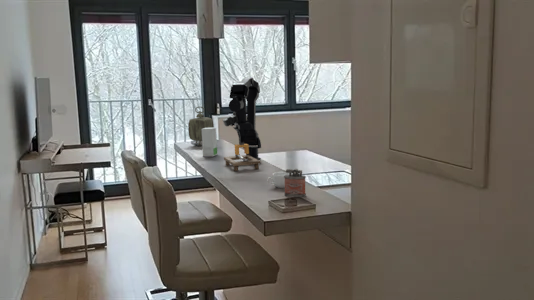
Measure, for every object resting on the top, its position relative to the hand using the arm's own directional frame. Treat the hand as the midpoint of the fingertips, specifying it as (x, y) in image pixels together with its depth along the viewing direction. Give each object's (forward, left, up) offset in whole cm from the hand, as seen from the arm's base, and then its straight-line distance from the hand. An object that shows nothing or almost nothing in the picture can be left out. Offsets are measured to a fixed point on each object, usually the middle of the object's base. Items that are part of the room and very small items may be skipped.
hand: (241, 142), depth 244 cm
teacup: (+26, +40, -13) cm, 50 cm away
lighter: (+35, +53, -13) cm, 65 cm away
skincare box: (-20, -39, -13) cm, 45 cm away
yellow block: (0, 0, -6) cm, 6 cm away
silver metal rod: (-1, -1, -9) cm, 9 cm away
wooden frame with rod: (-1, -1, -12) cm, 12 cm away
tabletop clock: (-47, -71, -13) cm, 86 cm away
